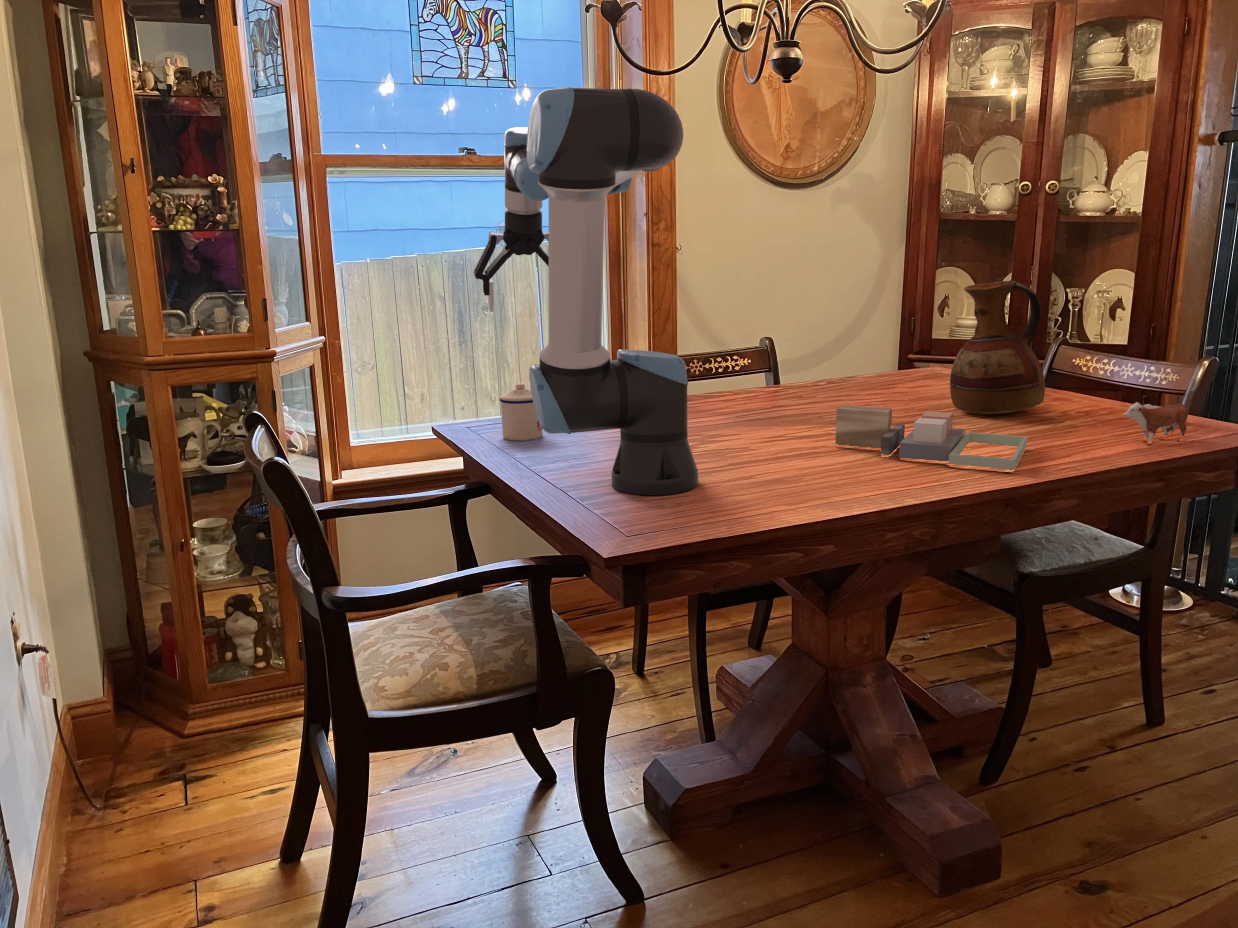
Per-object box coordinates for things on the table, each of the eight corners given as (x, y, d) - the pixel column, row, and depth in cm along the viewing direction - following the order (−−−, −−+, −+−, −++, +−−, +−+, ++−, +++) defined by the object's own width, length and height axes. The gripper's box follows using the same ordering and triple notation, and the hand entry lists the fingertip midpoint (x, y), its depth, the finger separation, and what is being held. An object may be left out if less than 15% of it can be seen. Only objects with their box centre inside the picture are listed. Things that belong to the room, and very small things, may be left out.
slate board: (949, 465, 173) (950, 446, 172) (898, 460, 177) (899, 442, 176) (963, 446, 187) (964, 429, 186) (916, 442, 191) (917, 425, 190)
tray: (1013, 473, 166) (1014, 459, 165) (948, 467, 171) (949, 454, 171) (1026, 449, 183) (1027, 436, 182) (966, 444, 188) (967, 432, 188)
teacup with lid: (548, 438, 204) (545, 385, 201) (506, 443, 202) (503, 388, 199) (535, 428, 215) (532, 377, 213) (495, 432, 213) (492, 380, 210)
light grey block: (940, 443, 175) (941, 424, 174) (913, 441, 177) (913, 422, 176) (945, 437, 179) (946, 419, 178) (918, 435, 181) (919, 417, 180)
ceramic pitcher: (938, 405, 228) (945, 278, 220) (1024, 404, 226) (1034, 276, 219) (962, 422, 209) (971, 283, 201) (1056, 420, 207) (1068, 281, 200)
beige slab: (888, 458, 179) (890, 416, 178) (828, 453, 185) (829, 412, 183) (903, 443, 191) (905, 404, 189) (846, 439, 196) (847, 401, 194)
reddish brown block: (947, 435, 181) (948, 417, 180) (920, 433, 183) (921, 415, 182) (952, 430, 185) (953, 412, 184) (925, 428, 187) (926, 411, 186)
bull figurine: (1117, 442, 186) (1121, 401, 184) (1176, 437, 189) (1180, 397, 187) (1133, 447, 182) (1137, 405, 180) (1193, 442, 185) (1198, 400, 183)
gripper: (580, 202, 197) (576, 298, 208) (458, 204, 191) (462, 303, 202) (588, 213, 190) (584, 312, 202) (463, 216, 185) (465, 317, 196)
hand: (523, 308), depth 202 cm, fingers open, 13 cm apart
